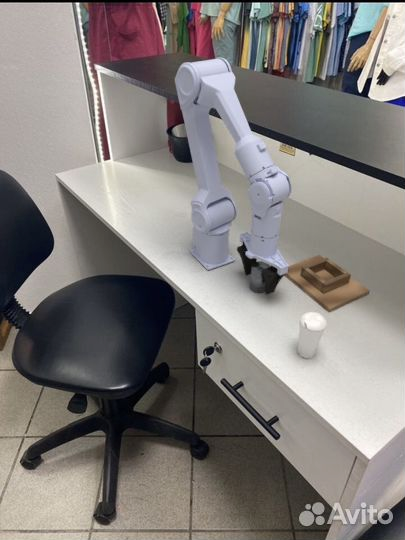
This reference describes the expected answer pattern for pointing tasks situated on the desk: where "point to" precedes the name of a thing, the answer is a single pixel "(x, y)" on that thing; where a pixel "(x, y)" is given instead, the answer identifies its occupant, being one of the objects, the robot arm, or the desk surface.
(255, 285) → the pin
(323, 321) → the milkshake
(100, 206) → the desk surface
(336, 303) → the socket board
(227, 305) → the desk surface
